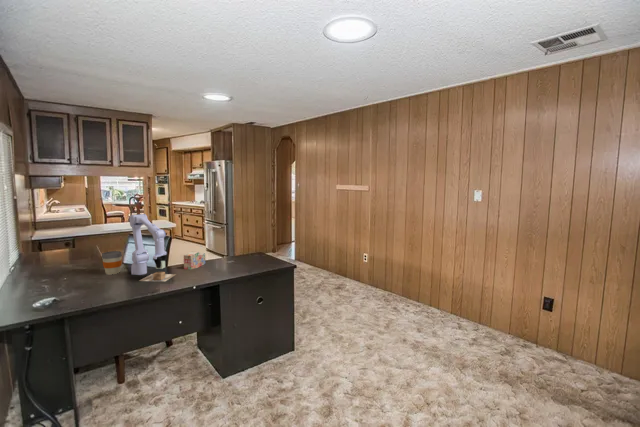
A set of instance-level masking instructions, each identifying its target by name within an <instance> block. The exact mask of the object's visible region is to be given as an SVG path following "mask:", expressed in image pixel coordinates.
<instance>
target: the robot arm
mask: <svg viewBox="0 0 640 427" xmlns="http://www.w3.org/2000/svg"><path fill="white" fill-rule="evenodd" d="M128 219H129V224H130V227H131V230H132V235H133V241H134V242H133V243H134V248H135V250H134V251H133V252H132V253H131V255H132V256H131V261H132V263H131V268H130V271H131V275H137V276H141V275H142V276H144V275H146V274H147V273H148V265H147V263H148V261H149V260H150V254H149V253H148V252H149V251H148V250H147V249H145V248H144V242H143V236H142V232H141V231H142V229H141V227H142V226H145V227H146V228H147V231H148V232H149V233H150V234H152V238H153V242H154V255H153V256H152V261H153V262H154V263H155V268H156V267H157V268H160V267H161V261H165V262H166V259H167V258H168V252H167V251H166V250H165V238H166V235H167V233H166V231H165V230H164V229H161V228H160V227H158V226H157V224H156V223H152V222H150V220H149V219H148V215H147V214H146V213H142V214H131V215H130V216H129V218H128Z"/></svg>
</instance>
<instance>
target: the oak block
mask: <svg viewBox="0 0 640 427" xmlns="http://www.w3.org/2000/svg"><path fill="white" fill-rule="evenodd" d="M152 274H153V280H159V281H158V282H162V281H161V280H163V279H165V274H166V272H165V271H156V272H154V273H152Z"/></svg>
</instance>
